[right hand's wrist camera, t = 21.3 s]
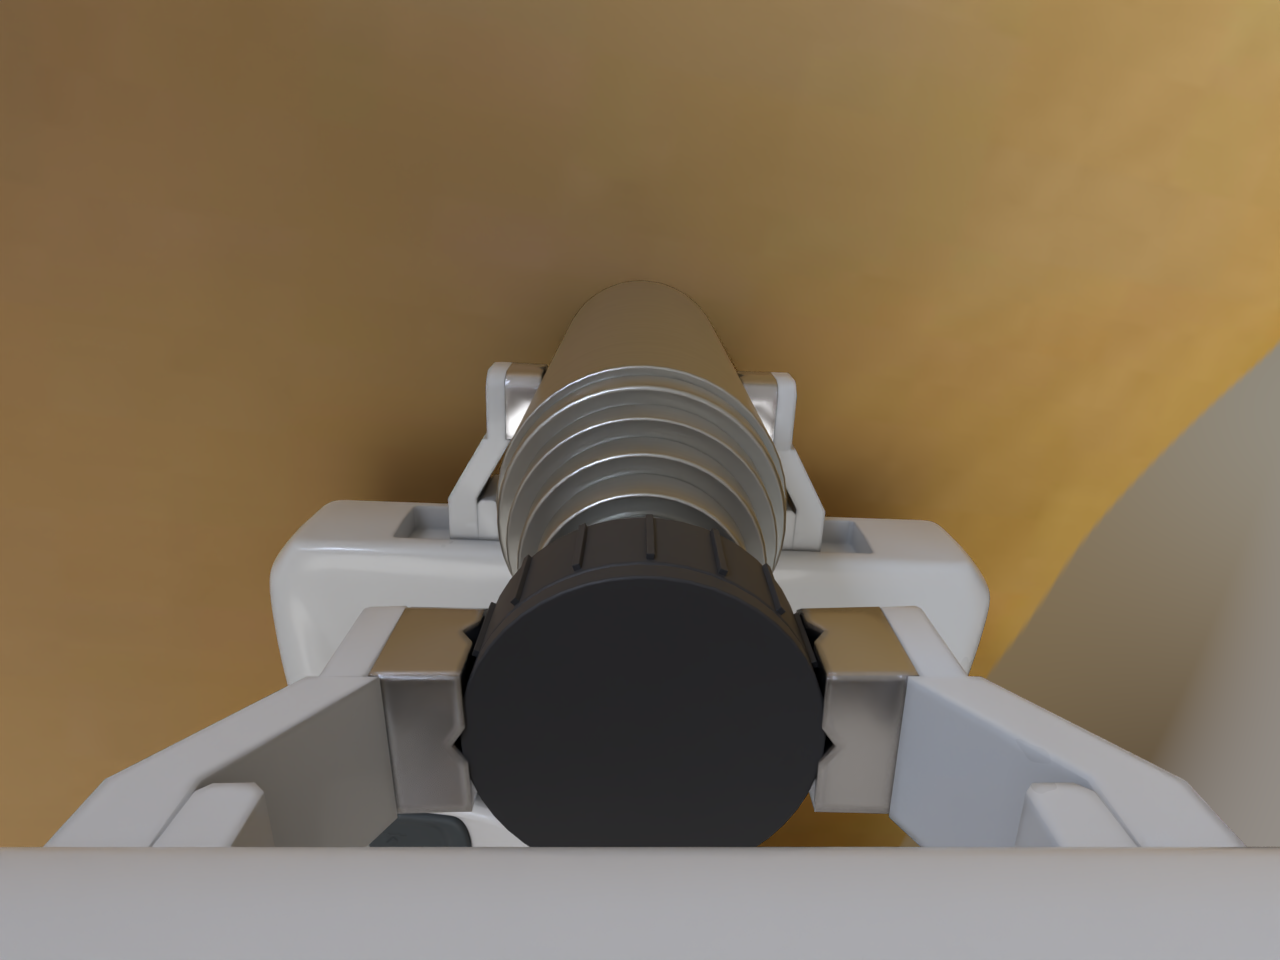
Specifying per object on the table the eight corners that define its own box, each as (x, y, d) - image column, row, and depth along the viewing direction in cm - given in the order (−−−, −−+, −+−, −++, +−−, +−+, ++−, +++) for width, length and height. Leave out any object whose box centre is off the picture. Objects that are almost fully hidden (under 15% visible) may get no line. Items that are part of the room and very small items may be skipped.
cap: (674, 835, 11) (679, 933, 9) (423, 689, 10) (387, 774, 9) (867, 628, 10) (907, 706, 8) (603, 448, 9) (596, 499, 8)
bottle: (614, 248, 26) (556, 388, 8) (749, 335, 27) (976, 641, 9) (533, 385, 27) (329, 766, 9) (664, 462, 28) (708, 944, 10)
